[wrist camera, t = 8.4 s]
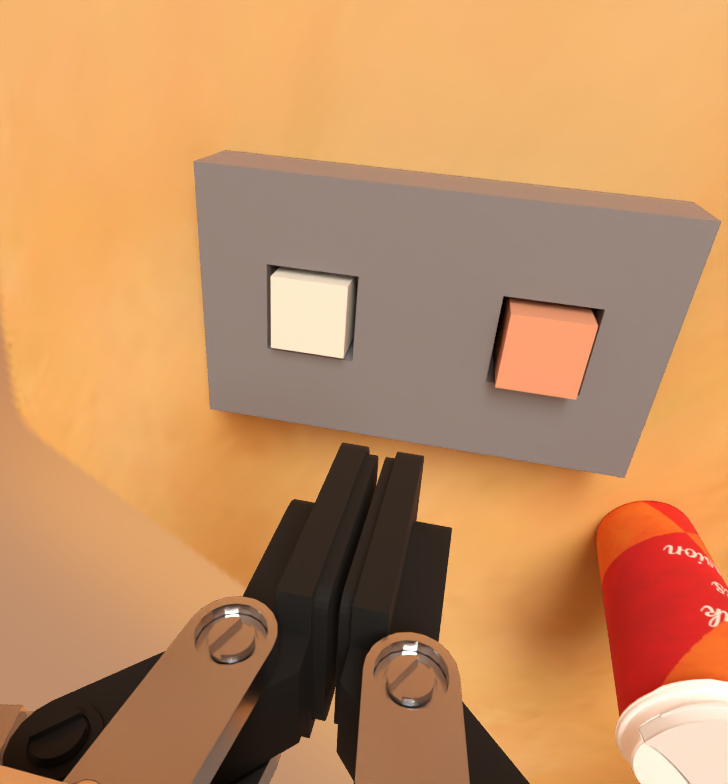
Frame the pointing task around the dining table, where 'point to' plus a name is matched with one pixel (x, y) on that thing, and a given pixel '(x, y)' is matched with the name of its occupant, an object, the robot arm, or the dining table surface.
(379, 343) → the button panel
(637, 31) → the dining table surface
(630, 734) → the coffee cup
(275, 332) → the cream cube block
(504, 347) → the peach square button
